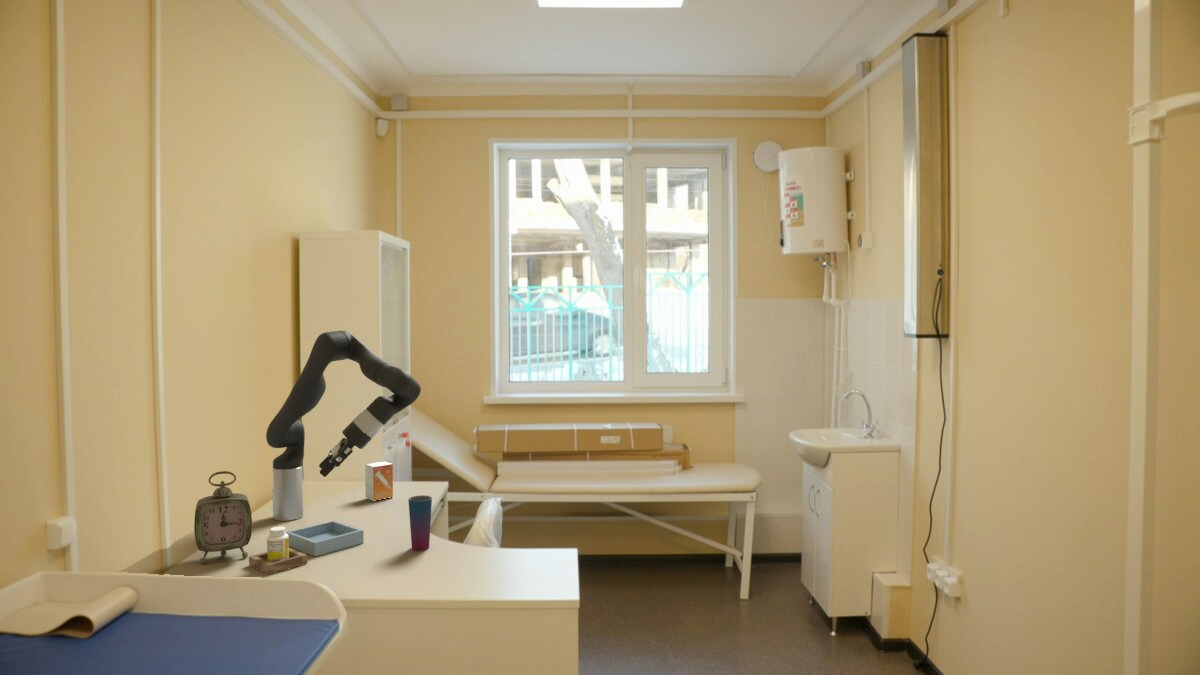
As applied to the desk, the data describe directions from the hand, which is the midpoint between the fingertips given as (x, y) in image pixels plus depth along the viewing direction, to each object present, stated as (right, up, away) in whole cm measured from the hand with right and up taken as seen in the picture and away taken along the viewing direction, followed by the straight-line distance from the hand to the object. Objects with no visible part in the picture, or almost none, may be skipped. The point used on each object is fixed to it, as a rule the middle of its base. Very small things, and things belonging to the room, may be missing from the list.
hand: (321, 471), depth 216 cm
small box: (-3, -22, +68) cm, 71 cm away
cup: (+25, -25, +12) cm, 37 cm away
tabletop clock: (-29, -25, +2) cm, 38 cm away
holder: (-11, -25, -3) cm, 28 cm away
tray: (-4, -25, +15) cm, 29 cm away
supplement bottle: (-11, -26, -3) cm, 28 cm away
